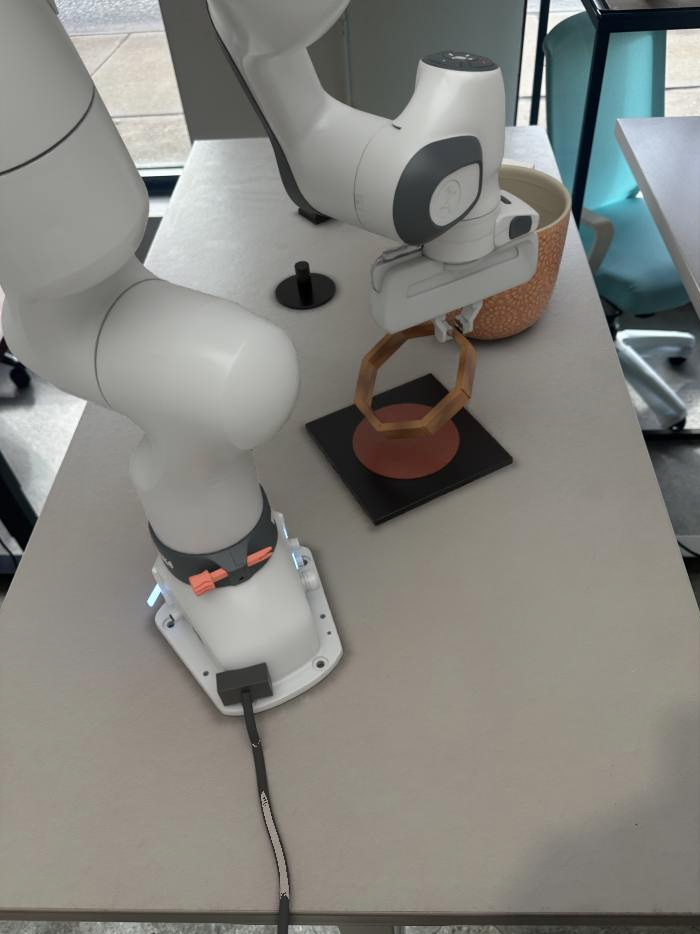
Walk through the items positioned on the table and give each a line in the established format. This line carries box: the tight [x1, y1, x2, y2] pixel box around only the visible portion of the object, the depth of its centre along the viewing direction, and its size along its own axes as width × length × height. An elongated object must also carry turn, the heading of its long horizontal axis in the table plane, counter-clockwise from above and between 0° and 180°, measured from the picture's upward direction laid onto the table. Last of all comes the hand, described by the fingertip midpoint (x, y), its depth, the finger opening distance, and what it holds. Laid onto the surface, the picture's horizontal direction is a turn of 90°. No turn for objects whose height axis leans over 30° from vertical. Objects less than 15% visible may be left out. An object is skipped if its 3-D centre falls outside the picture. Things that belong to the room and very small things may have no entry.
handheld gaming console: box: [297, 207, 331, 225], centre depth 135 cm, size 12×7×10 cm
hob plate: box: [304, 372, 514, 526], centre depth 96 cm, size 20×20×1 cm
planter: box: [446, 164, 573, 341], centre depth 107 cm, size 21×21×19 cm
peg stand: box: [274, 260, 337, 310], centre depth 119 cm, size 10×10×5 cm
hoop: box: [353, 319, 478, 440], centre depth 89 cm, size 15×15×2 cm
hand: (453, 334), depth 87 cm, fingers closed on hoop, 1 cm apart
